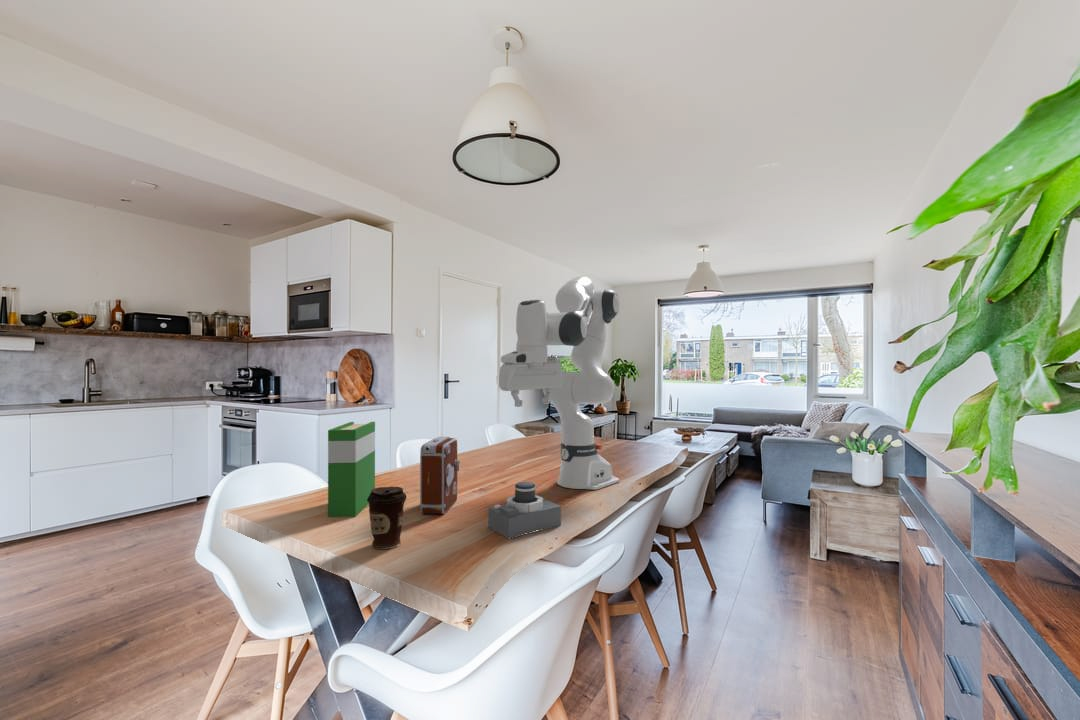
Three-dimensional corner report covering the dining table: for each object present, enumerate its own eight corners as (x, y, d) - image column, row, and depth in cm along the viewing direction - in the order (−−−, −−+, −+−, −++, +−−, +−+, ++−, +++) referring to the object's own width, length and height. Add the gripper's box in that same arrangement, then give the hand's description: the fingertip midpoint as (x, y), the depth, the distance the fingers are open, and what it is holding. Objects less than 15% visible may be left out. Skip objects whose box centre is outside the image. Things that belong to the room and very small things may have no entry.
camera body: (538, 514, 128) (538, 489, 128) (560, 525, 120) (560, 498, 120) (488, 527, 119) (488, 500, 119) (509, 539, 111) (509, 510, 111)
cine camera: (466, 496, 146) (466, 433, 146) (447, 516, 127) (447, 444, 127) (437, 495, 147) (437, 432, 147) (415, 515, 128) (415, 443, 128)
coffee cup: (384, 555, 101) (384, 496, 101) (358, 548, 106) (358, 491, 106) (413, 542, 109) (413, 487, 109) (388, 535, 113) (388, 482, 113)
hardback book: (350, 498, 144) (350, 421, 144) (374, 497, 144) (374, 421, 144) (328, 517, 126) (328, 430, 126) (355, 516, 127) (355, 430, 127)
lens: (527, 502, 123) (527, 480, 123) (539, 507, 119) (539, 484, 119) (511, 506, 120) (511, 483, 120) (522, 511, 116) (522, 487, 116)
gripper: (554, 356, 139) (554, 401, 139) (495, 357, 127) (496, 407, 127) (567, 356, 134) (567, 403, 134) (507, 357, 122) (508, 409, 122)
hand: (532, 405), depth 131 cm, fingers open, 8 cm apart
